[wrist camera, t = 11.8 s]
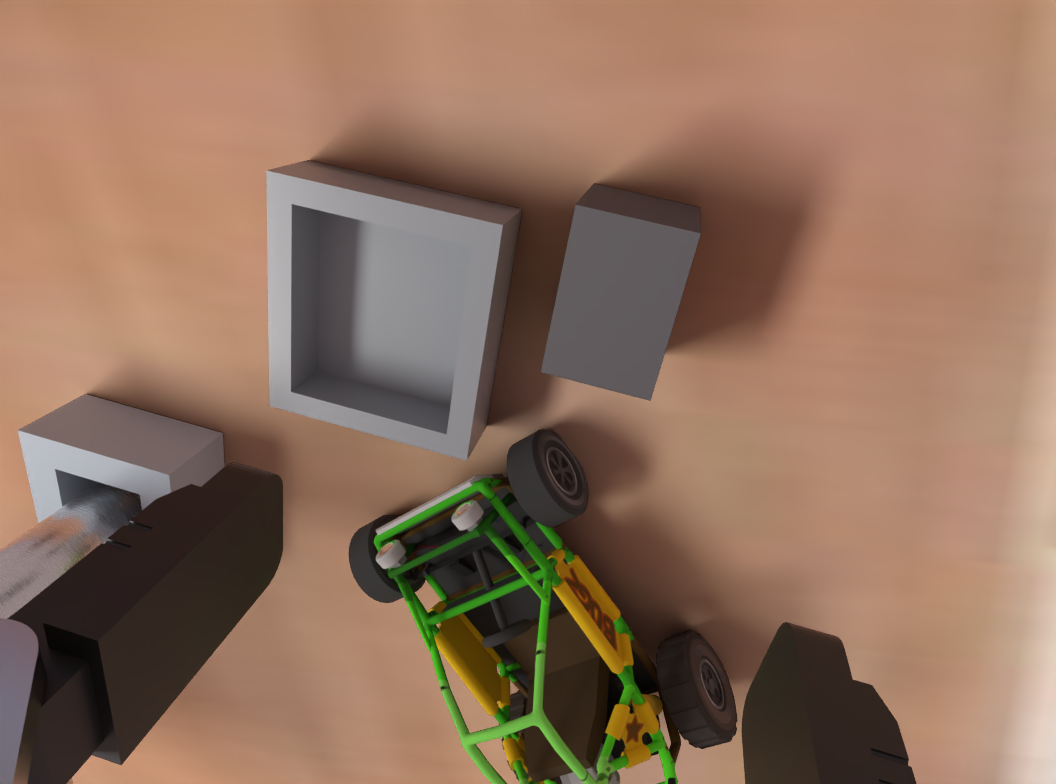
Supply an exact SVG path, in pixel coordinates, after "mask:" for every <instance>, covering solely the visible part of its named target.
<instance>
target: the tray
mask: <svg viewBox="0 0 1056 784" xmlns="http://www.w3.org/2000/svg"><path fill="white" fill-rule="evenodd" d="M521 215H522V209H520V208H516V207H512V206H507V205H503V204H498V203H494V202H490V201H485V200H481V199H476V198H472V197H468V196H463V195H459V194H454V193H450V192H446V191H441V190H437V189H433V188H428V187H424V186H419V185H415V184H411V183H406V182H402V181H397V180H393V179H389V178H384V177H380V176H375V175H371V174H367V173H362V172H358V171H353V170H349V169H345V168H340V167H336V166H331V165H327V164H323V163H318V162H314V161H310V160H307V161H303V162H299V163H295V164H291V165H287V166H283V167H279V168H275V169H271V170H267V245H268V322H269V399H270V406H271V407H274V408H278V409H282V410H285V411H289V412H292V413H296V414H300V415H303V416H307V417H311V418H314V419H318V420H321V421H325V422H329V423H332V424H336V425H339V426H343V427H347V428H350V429H354V430H358V431H361V432H365V433H368V434H372V435H376V436H379V437H383V438H386V439H390V440H394V441H397V442H401V443H404V444H408V445H412V446H415V447H419V448H423V449H426V450H430V451H433V452H437V453H441V454H444V455H448V456H451V457H455V458H459V459H462V460H466V461H467V459H468V457H469V456H470V454H471V452H472V451H473V449H474V447H475V445H476V444H477V442H478V440H479V438H480V437H481V435H482V433H483V432H484V430H485V428H486V425H487V419H488V413H489V407H490V401H491V395H492V389H493V383H494V377H495V371H496V365H497V359H498V353H499V347H500V341H501V335H502V329H503V323H504V317H505V311H506V305H507V299H508V293H509V287H510V281H511V275H512V269H513V263H514V257H515V251H516V245H517V239H518V233H519V227H520V221H521Z"/></svg>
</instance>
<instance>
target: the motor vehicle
mask: <svg viewBox="0 0 1056 784" xmlns="http://www.w3.org/2000/svg"><path fill="white" fill-rule="evenodd" d="M507 474H508V478H507V477H504V476H503V474H494V475H476V476H474V477H472V478H470V479H468V480H467V481H465V482H463V483H461V484H459V485H457V486H456V487H454V488H452V489H450V490H448V491H446V492H444V493H443V494H441V495H439V496H437V497H435V498H433V499H431V500H430V501H428V502H426V503H424V504H422V505H420V506H418V507H417V508H415V509H413V510H411V511H409V512H407V513H405V514H404V515H402V516H400V517H398V516H394V515H385V516H382V517H380V518H378V519H376V520H374V521H372V522H371V523H369V524H367V525H365V526H363V527H362V528H360V529H359V530H358V531H357V532H356V533H355V534H354V536H353V537H352V539H351V543H350V546H349V562H350V567H351V570H352V573H353V576H354V578H355V580H356V582H357V583H358V585H359V586H360V587H361V589H362V590H363V591H364V592H365V593H366V594H367V595H368V596H369V597H371V598H373V599H374V600H376V601H379V602H383V603H390V602H394V601H396V600H399V599H401V598H403V597H404V598H405V601H406V603H407V605H408V607H409V609H410V611H411V614H412V616H413V618H414V620H415V622H416V624H417V627H418V629H419V631H420V633H421V635H422V637H423V640H424V642H425V644H426V646H427V648H428V650H429V651H430V652H431V656H432V660H433V663H434V667H435V670H436V674H437V678H438V681H439V685H440V689H441V692H442V694H443V696H444V699H445V701H446V704H447V706H448V708H449V711H450V713H451V716H452V718H453V721H454V723H455V725H456V728H457V730H458V733H459V735H460V739H461V742H462V746H463V747H464V749H465V750H466V752H467V753H468V754H469V756H470V757H471V758H472V760H473V761H474V762H475V764H476V765H477V766H478V768H479V769H480V771H481V772H482V773H483V774H484V775H485V776H486V777H487V779H488V780H489V781H490V782H491V783H492V784H507V783H506V782H505V781H504V780H503V778H502V777H501V776H500V775H499V774H498V773H497V771H496V770H495V769H494V768H493V767H492V766H491V764H490V763H489V762H488V761H487V759H486V758H485V756H484V755H483V754H482V752H481V751H480V750H479V748H478V747H477V746H476V744H477V743H481V742H484V741H488V740H492V739H496V738H500V737H503V739H502V745H503V749H504V750H505V752H506V755H507V758H508V761H507V762H508V764H509V766H510V768H511V770H513V771H514V773H515V774H516V776H517V779H518V780H519V781H520V784H620V777H619V773H618V772H617V770H618V769H621V768H623V767H626V768H627V769H628V768H630V767H633V766H635V765H637V764H640V763H642V762H644V761H646V760H649V759H650V757H651V756H652V755H656V754H658V753H659V756H660V759H661V762H662V766H663V771H664V776H665V782H661V783H658V784H677V783H678V780H677V777H676V773H675V768H674V767H675V763H676V759H677V756H678V753H679V750H680V746H681V739H680V735H679V733H680V734H681V736H682V737H683V738H684V739H685V740H688V741H689V744H690V745H692V746H694V747H695V748H697V747H699V748H701V749H704V748H707V747H711V746H715V745H719V744H723V743H727V742H730V741H731V740H732V737H733V736H735V734H736V731H737V727H736V722H737V713H736V705H735V700H734V696H733V692H732V688H731V685H730V682H729V679H728V677H727V674H726V672H725V670H724V667H723V665H722V663H721V661H720V660H719V658H718V656H717V654H716V653H715V651H714V650H713V648H712V647H711V646H710V645H709V644H708V643H707V642H706V641H705V640H704V639H703V637H702V636H701V635H700V634H696V633H695V632H694V631H688V632H685V633H682V634H679V635H676V636H674V637H671V638H668V639H666V640H665V641H664V642H661V643H660V645H659V647H658V650H659V651H658V653H657V654H656V663H657V669H656V667H655V666H654V664H653V663H652V661H651V660H650V658H649V657H648V655H647V654H646V652H645V651H644V649H643V648H642V646H641V645H640V643H639V642H638V640H637V639H636V637H635V636H634V634H633V633H632V631H631V630H630V628H629V627H628V625H627V624H626V622H625V621H624V619H623V618H622V617H621V612H620V611H619V609H618V608H617V607H616V605H615V604H614V603H613V601H612V600H611V599H610V597H609V596H608V595H607V593H606V592H605V591H604V589H603V588H602V587H601V586H600V584H599V583H598V582H597V580H596V579H595V578H594V576H593V575H592V574H591V572H590V571H589V570H588V568H587V567H586V566H585V564H584V563H583V562H582V560H581V559H580V558H579V556H578V555H573V554H572V552H571V551H570V550H569V548H568V547H567V546H566V544H565V543H564V542H563V540H562V539H561V538H560V537H559V536H558V534H557V533H556V532H555V531H554V529H553V528H552V527H555V526H557V525H560V524H562V523H564V522H566V521H568V520H570V519H572V518H575V517H577V516H579V515H581V514H583V513H584V511H585V510H586V507H587V503H588V486H587V481H586V478H585V475H584V472H583V469H582V467H581V465H580V463H579V461H578V460H577V459H576V457H575V456H574V455H573V453H572V452H571V451H570V449H569V448H568V447H567V445H566V444H565V443H564V441H563V440H562V439H561V437H559V436H558V435H557V434H555V433H553V432H551V431H548V430H544V429H543V430H538V431H537V432H535V433H533V434H531V435H529V436H528V437H526V438H524V439H522V440H520V441H518V442H517V443H515V444H513V445H512V446H511V447H510V449H509V451H508V455H507ZM425 580H427V581H428V583H429V584H430V585H431V587H432V588H433V589H434V590H435V592H436V593H437V594H438V596H439V597H440V598H441V600H442V601H440V602H438V603H437V604H436V605H435V606H434V607H432V608H431V609H430V610H429V613H427V611H426V610H425V608H424V606H423V605H422V603H421V602H420V600H419V599H418V597H417V596H416V594H415V592H416V591H417V590H419V589H420V588H421V587H422V585H423V584H424V583H425ZM423 623H424V626H423ZM438 623H439V624H440V626H439V629H438V627H437V626H436V624H438ZM438 649H439V650H440V652H441V653H442V654H443V656H444V657H445V658H446V660H447V661H448V662H449V663H450V665H451V666H452V667H453V669H454V670H455V671H456V673H457V674H458V675H459V677H460V678H461V679H462V681H463V682H464V683H465V685H466V686H467V687H468V688H469V690H470V691H471V692H472V694H473V695H474V696H475V698H476V699H477V700H478V702H479V703H480V704H481V706H482V707H483V708H484V710H485V711H486V712H487V713H488V715H491V716H494V717H495V718H496V720H497V721H498V722H499V726H495V727H491V728H488V729H484V730H480V731H477V732H473V733H469V731H468V728H467V726H466V724H465V722H464V719H463V717H462V715H461V712H460V710H459V708H458V705H457V703H456V701H455V698H454V696H453V694H452V692H451V689H450V686H449V683H448V680H447V677H446V674H445V670H444V667H443V664H442V661H441V658H440V654H439V651H438ZM497 666H498V667H499V670H500V675H499V674H498V673H497ZM510 680H511V681H512V682H513V683H514V685H515V686H516V687H517V688H518V689H519V690H518V692H517V693H514V694H511V695H510ZM657 691H658V692H659V696H660V698H659V697H658V696H656V695H649V694H651V693H654V692H657ZM497 701H498V704H497ZM662 709H663V712H664V716H665V720H666V724H667V728H668V732H669V736H670V740H671V746H670V749H668V747H667V745H666V742H665V739H664V736H663V734H662V732H661V730H660V722H659V717H658V714H660V713H661V712H662ZM678 730H679V731H678Z"/></svg>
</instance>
